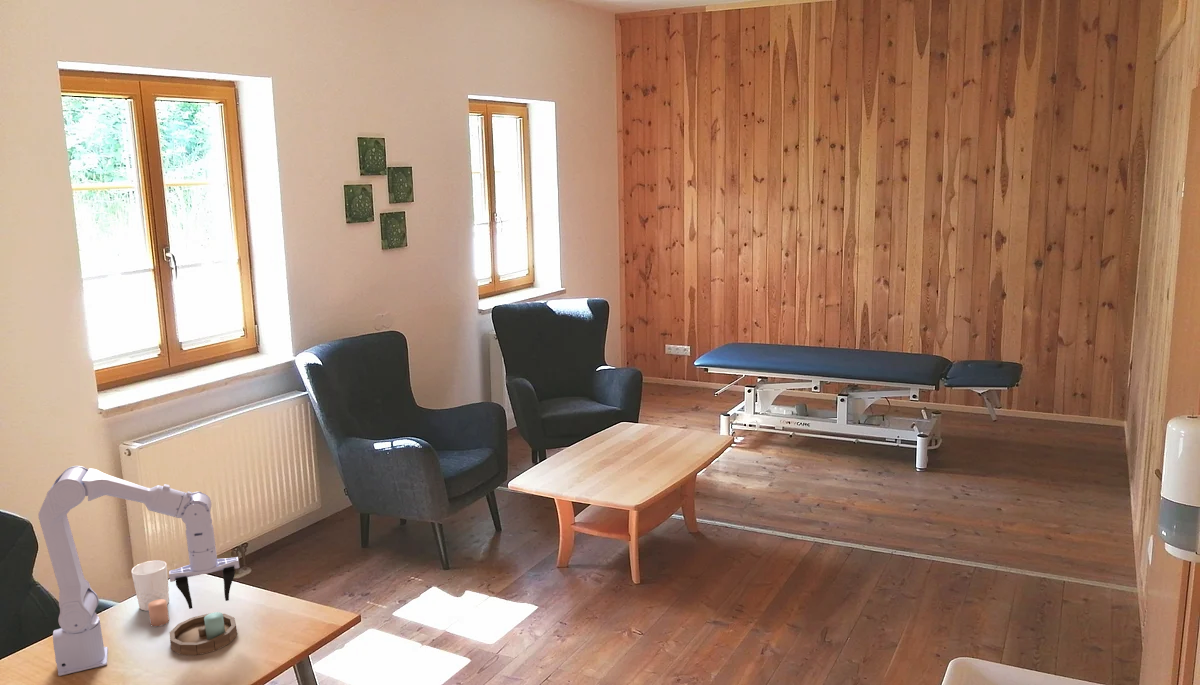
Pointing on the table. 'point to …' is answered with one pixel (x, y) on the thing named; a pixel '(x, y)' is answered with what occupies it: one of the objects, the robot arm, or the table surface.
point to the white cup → (150, 582)
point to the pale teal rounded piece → (214, 625)
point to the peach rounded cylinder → (158, 612)
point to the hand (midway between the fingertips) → (208, 602)
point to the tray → (200, 636)
